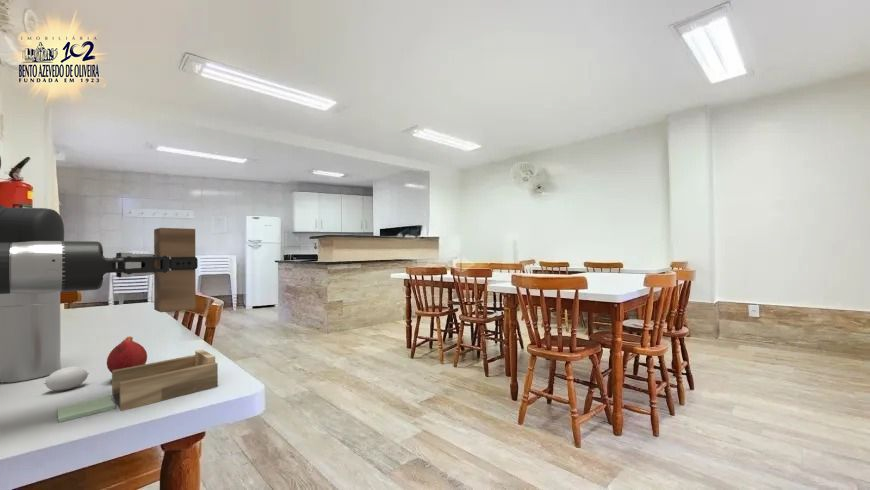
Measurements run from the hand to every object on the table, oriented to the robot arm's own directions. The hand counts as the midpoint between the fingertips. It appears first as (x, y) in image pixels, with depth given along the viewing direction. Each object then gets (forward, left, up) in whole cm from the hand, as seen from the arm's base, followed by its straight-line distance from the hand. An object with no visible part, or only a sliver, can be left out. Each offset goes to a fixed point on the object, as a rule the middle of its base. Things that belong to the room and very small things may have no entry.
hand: (191, 262), depth 67 cm
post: (0, -3, -8) cm, 8 cm away
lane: (0, -4, -22) cm, 22 cm away
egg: (-15, -16, -22) cm, 31 cm away
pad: (0, -14, -22) cm, 26 cm away
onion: (-13, -8, -22) cm, 27 cm away
